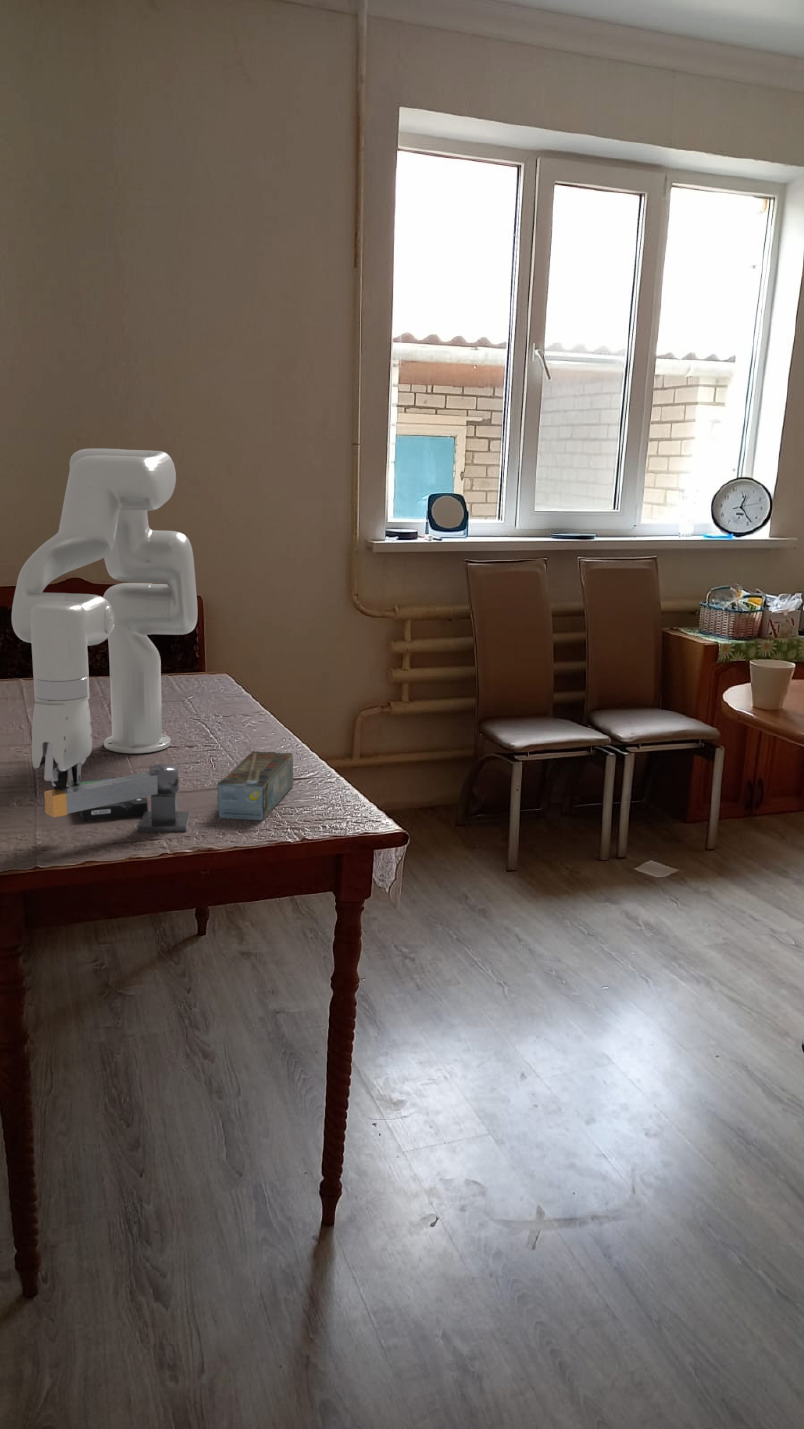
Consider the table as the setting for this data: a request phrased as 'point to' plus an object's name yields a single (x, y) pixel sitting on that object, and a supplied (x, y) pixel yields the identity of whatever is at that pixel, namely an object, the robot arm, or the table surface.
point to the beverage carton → (255, 786)
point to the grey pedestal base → (164, 815)
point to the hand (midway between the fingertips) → (67, 809)
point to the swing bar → (112, 790)
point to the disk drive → (115, 808)
